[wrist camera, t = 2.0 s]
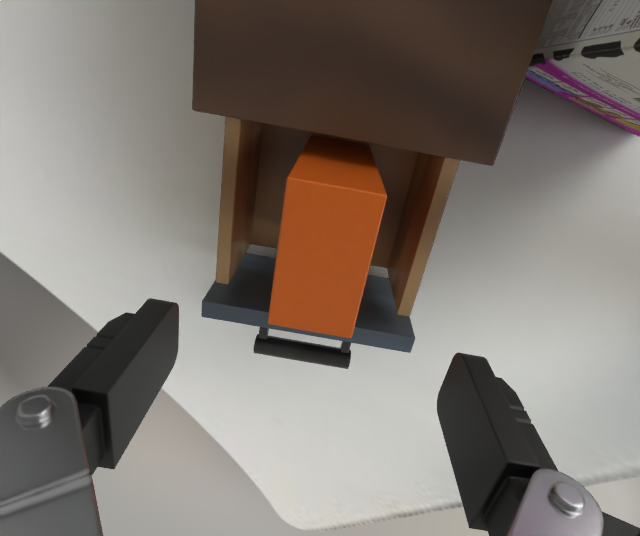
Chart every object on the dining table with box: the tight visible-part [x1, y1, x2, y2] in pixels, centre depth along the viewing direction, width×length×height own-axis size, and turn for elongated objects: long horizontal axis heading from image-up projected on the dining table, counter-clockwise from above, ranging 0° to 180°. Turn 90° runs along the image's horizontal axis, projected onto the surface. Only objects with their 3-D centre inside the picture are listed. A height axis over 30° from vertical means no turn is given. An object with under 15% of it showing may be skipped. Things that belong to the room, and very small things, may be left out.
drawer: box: [202, 117, 460, 369], centre depth 26 cm, size 19×13×8 cm
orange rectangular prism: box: [268, 136, 387, 338], centre depth 22 cm, size 7×4×12 cm, turn 170°
